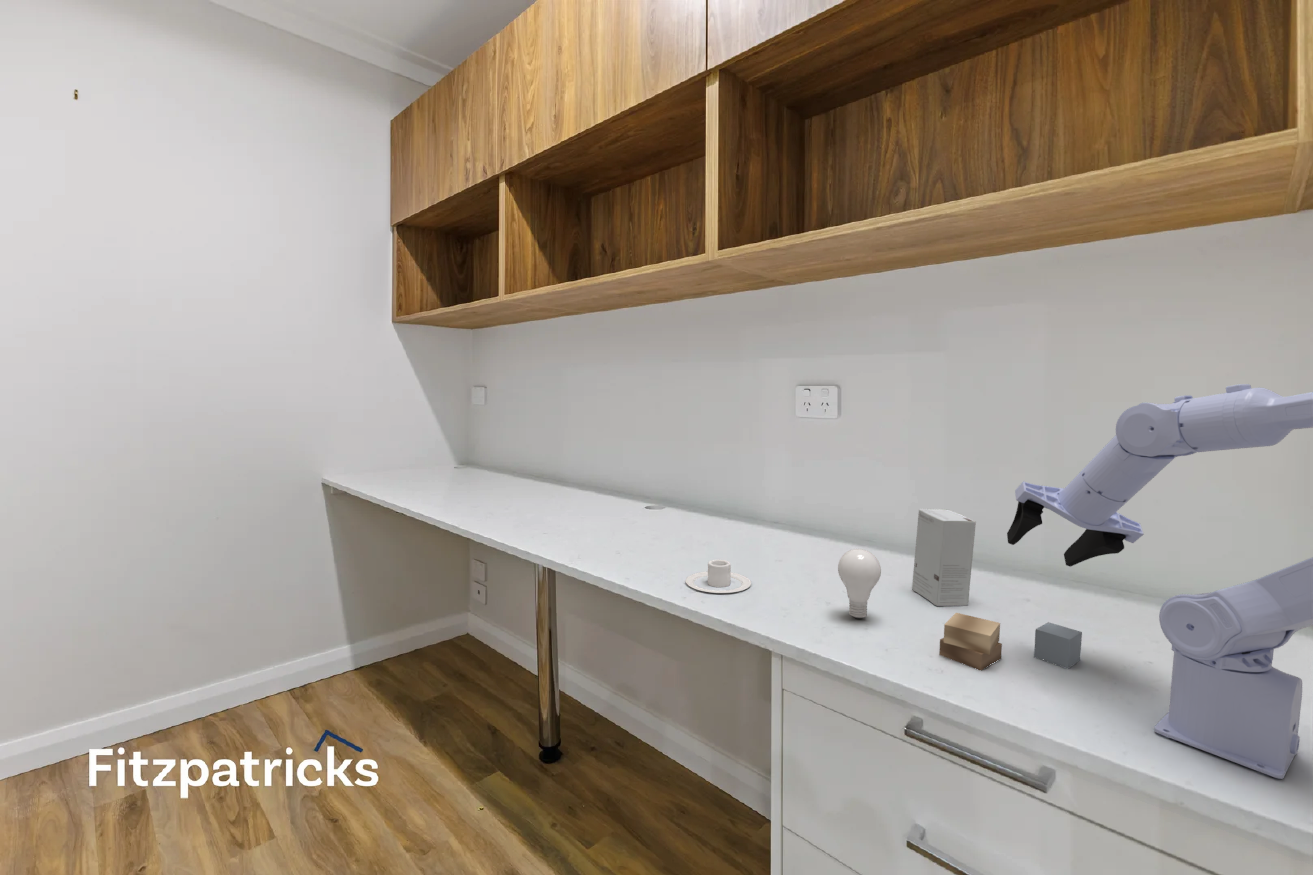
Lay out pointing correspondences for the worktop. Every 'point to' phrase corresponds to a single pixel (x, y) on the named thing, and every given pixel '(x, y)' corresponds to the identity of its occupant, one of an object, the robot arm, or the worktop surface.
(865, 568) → the lightbulb
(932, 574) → the skincare box
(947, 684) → the worktop surface
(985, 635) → the upper tile
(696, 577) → the candle holder
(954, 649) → the lower tile
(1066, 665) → the cube
